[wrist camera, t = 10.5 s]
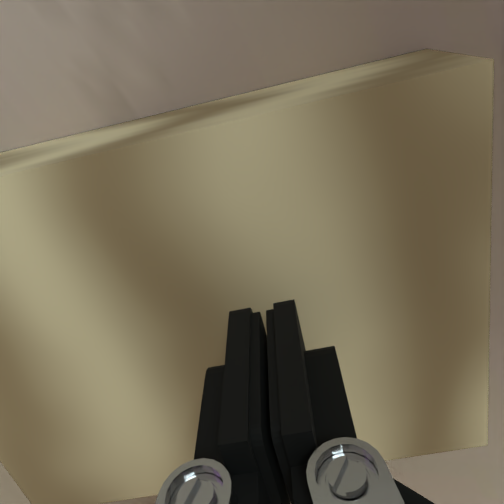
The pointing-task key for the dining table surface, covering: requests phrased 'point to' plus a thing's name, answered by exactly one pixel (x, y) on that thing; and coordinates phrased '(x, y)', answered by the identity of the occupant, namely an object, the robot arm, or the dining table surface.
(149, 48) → the dining table surface
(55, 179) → the board
